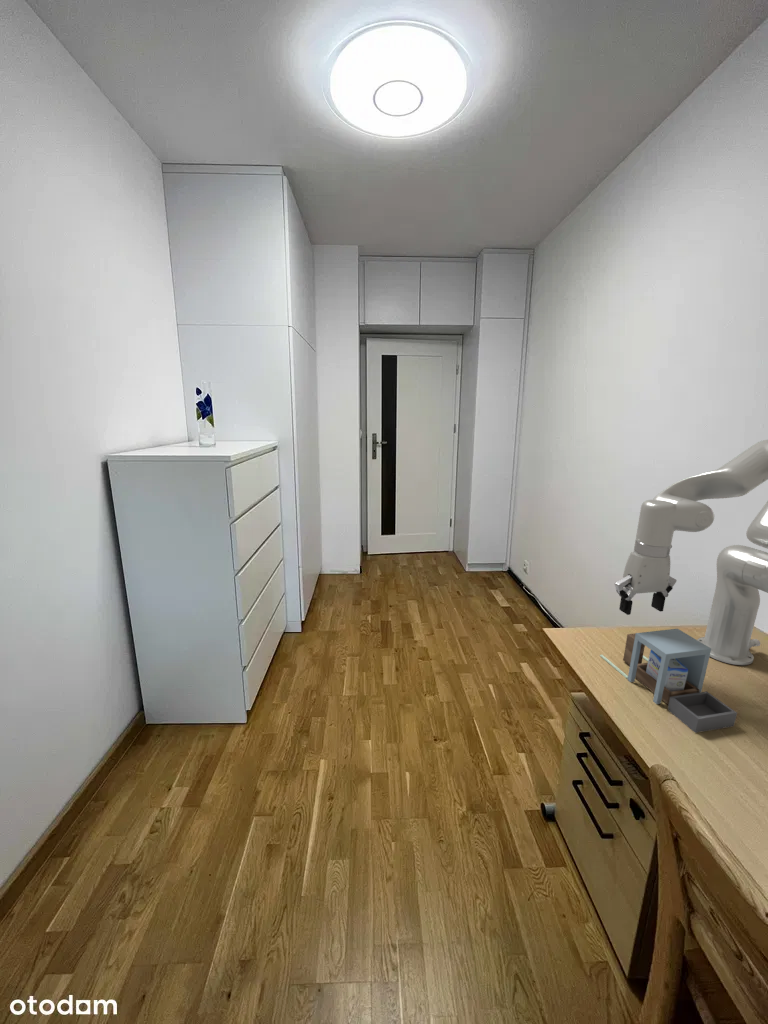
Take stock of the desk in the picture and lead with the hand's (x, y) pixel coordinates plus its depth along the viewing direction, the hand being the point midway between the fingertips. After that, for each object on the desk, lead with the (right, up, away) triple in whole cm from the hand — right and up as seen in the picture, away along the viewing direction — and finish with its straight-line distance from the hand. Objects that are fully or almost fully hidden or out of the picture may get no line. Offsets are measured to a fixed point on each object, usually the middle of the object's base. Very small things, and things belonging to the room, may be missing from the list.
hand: (640, 610), depth 106 cm
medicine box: (+2, -18, -5) cm, 19 cm away
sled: (+1, -17, -3) cm, 17 cm away
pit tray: (+4, -21, -15) cm, 26 cm away
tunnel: (+2, -18, -5) cm, 19 cm away
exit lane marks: (0, -16, +4) cm, 16 cm away
